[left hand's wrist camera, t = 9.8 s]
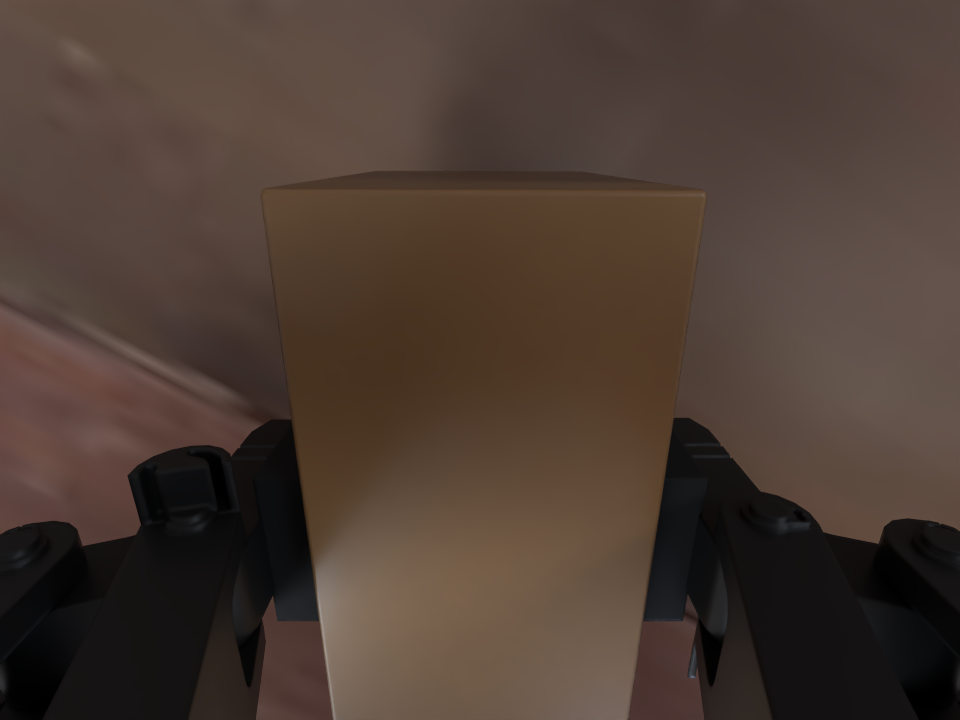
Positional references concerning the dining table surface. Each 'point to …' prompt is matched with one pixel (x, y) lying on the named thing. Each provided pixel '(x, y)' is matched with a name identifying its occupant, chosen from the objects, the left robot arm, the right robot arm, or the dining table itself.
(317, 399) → the bar
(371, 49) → the dining table surface
